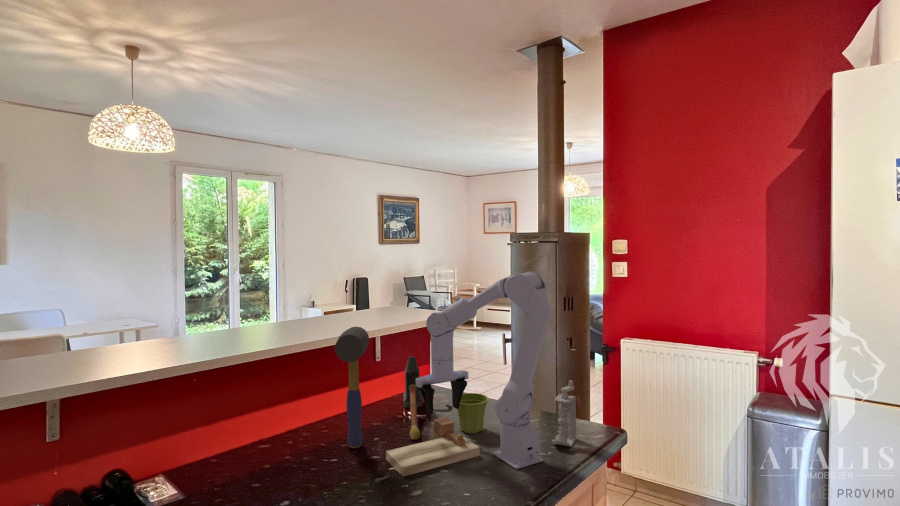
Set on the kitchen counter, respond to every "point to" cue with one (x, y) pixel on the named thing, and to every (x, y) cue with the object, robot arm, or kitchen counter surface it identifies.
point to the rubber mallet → (353, 378)
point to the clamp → (566, 417)
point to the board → (430, 455)
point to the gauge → (447, 431)
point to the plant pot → (472, 412)
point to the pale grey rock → (440, 401)
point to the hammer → (412, 394)
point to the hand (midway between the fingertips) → (443, 410)
